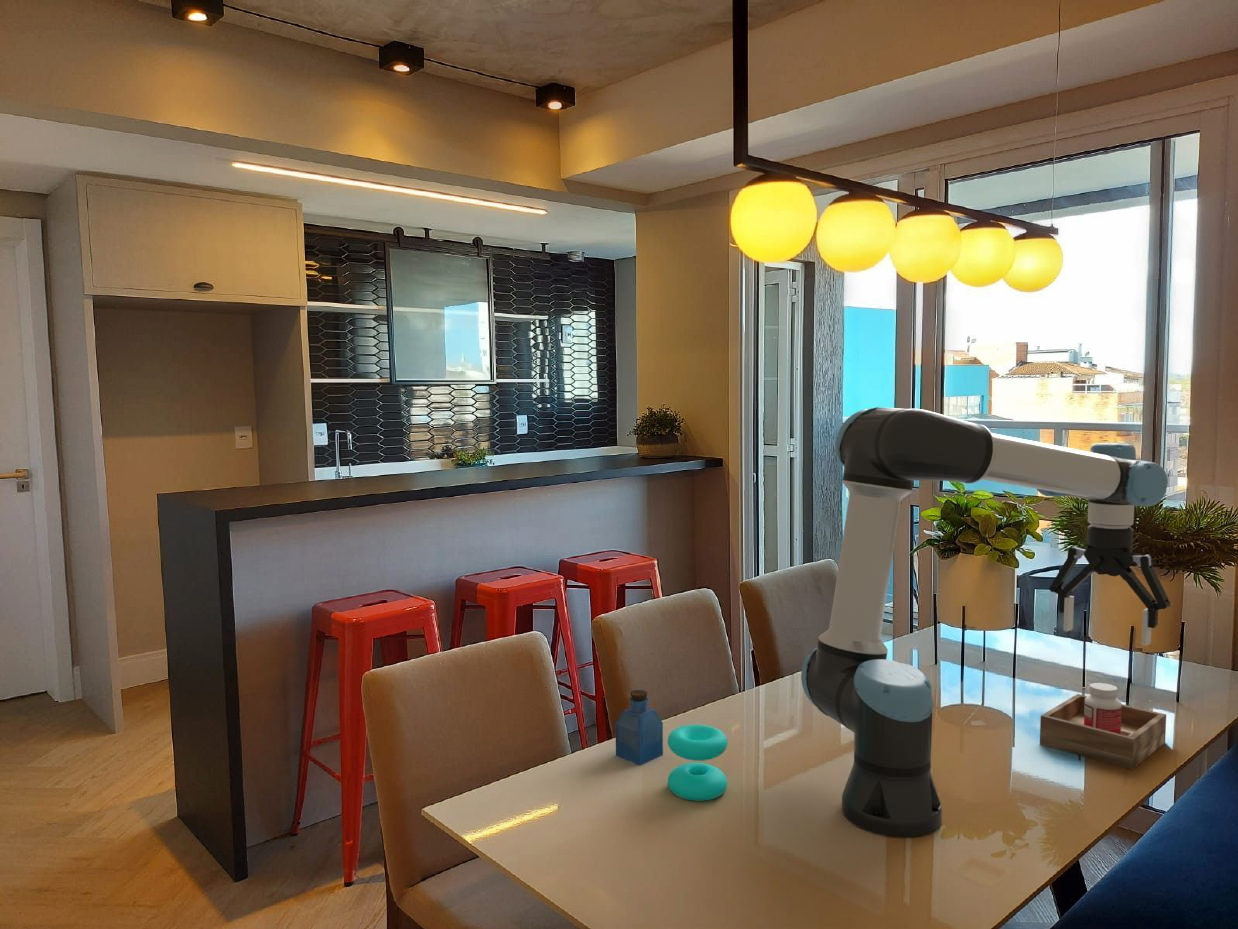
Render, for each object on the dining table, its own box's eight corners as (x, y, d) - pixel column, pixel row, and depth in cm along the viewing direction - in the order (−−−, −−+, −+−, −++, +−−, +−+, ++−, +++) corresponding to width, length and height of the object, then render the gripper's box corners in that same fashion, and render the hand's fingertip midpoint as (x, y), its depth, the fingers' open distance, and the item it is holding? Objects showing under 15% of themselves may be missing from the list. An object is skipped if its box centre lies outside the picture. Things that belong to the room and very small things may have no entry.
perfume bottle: (662, 755, 164) (662, 692, 163) (640, 765, 160) (640, 700, 159) (637, 746, 168) (637, 684, 168) (615, 756, 164) (615, 693, 163)
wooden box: (1132, 769, 157) (1133, 739, 156) (1039, 743, 168) (1040, 715, 168) (1165, 742, 169) (1166, 714, 168) (1076, 720, 180) (1077, 694, 180)
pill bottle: (1126, 744, 168) (1128, 687, 167) (1109, 752, 164) (1111, 694, 164) (1094, 734, 173) (1095, 679, 172) (1076, 741, 169) (1078, 685, 169)
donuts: (675, 719, 155) (732, 725, 152) (675, 774, 156) (731, 781, 153) (661, 740, 145) (721, 747, 143) (661, 799, 146) (721, 807, 143)
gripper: (1193, 530, 159) (1187, 646, 160) (1049, 517, 177) (1046, 621, 179) (1180, 535, 154) (1174, 655, 155) (1033, 520, 172) (1030, 627, 174)
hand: (1105, 637), depth 167 cm, fingers open, 13 cm apart
